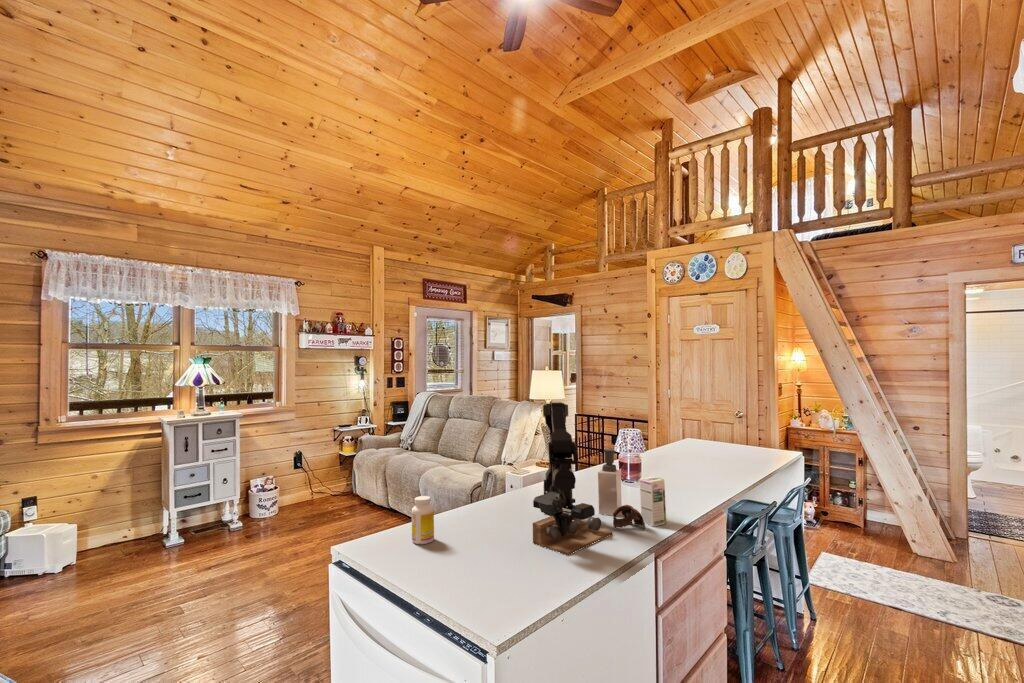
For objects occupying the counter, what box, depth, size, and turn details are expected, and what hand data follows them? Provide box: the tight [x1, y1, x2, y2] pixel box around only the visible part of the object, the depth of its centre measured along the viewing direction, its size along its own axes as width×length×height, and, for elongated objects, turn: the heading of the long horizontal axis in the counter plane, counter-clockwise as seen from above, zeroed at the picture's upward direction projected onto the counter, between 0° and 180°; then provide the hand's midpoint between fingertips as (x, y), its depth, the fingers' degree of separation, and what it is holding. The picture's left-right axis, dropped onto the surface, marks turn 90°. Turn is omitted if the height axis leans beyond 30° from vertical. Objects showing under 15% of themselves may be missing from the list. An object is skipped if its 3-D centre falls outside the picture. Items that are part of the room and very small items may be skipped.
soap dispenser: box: [597, 448, 623, 517], centre depth 169 cm, size 6×9×22 cm
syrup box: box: [639, 476, 667, 528], centre depth 156 cm, size 6×6×14 cm
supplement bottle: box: [411, 495, 435, 545], centre depth 144 cm, size 7×7×13 cm
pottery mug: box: [612, 504, 646, 531], centre depth 152 cm, size 12×10×8 cm
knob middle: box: [568, 520, 578, 534], centre depth 146 cm, size 8×4×4 cm, turn 45°
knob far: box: [575, 516, 602, 531], centre depth 148 cm, size 8×4×4 cm, turn 45°
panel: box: [532, 515, 613, 556], centre depth 143 cm, size 13×22×6 cm, turn 135°
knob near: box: [546, 525, 562, 540], centre depth 141 cm, size 8×4×4 cm, turn 45°
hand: (563, 536), depth 137 cm, fingers closed
